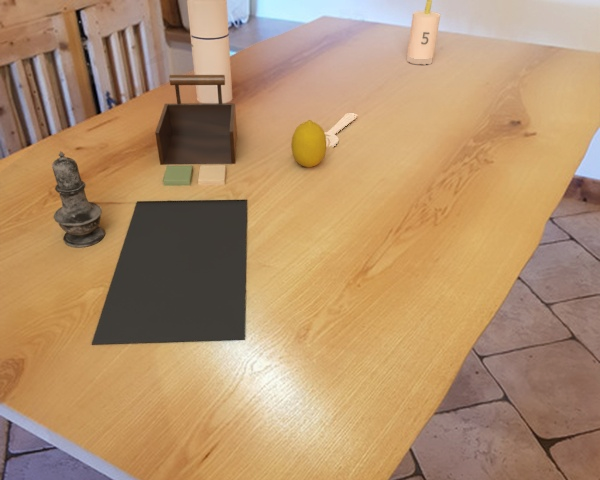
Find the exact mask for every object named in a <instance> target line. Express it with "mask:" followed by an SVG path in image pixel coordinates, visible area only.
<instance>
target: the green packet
mask: <svg viewBox="0 0 600 480" xmlns="http://www.w3.org/2000/svg"><path fill="white" fill-rule="evenodd" d="M193 173H194V166H193V164H188V165H166V168H165V171H164V176H163V179H162V185H163V187H176V186H177V187H180V186H181V187H183V186H191V184H192V178H193Z"/></svg>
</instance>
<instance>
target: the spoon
mask: <svg viewBox="0 0 600 480" xmlns="http://www.w3.org/2000/svg"><path fill="white" fill-rule="evenodd" d="M354 115H355V116H354ZM356 116H358V114H356V113H353V112H348V113H345V114H344V116H342V117H341V118H340V119H339V120H338V121H337V122H336V123H335V124H334V125H333V126H332V127H331V128H330V129H329V130H327V131H324V133H325V136H326V148H330V147H332V148H334V146H335V147H336V146H337V145H338V144H339V136H337V134H339V133H340V132H341V131H343V130H344V129H345V128H346V127H345V126H347V125H348V124H349V123H350V122H351V121H353V120H354V119H355V118H356ZM354 117H355V118H354ZM353 122H354V121H353ZM349 125H350V124H349ZM349 125H348V126H349ZM348 126H347V127H348ZM344 127H345V128H344ZM343 128H344V129H343ZM342 129H343V130H342ZM340 130H341V131H340ZM339 131H340V132H339ZM338 132H339V133H338ZM336 133H337V134H336ZM335 134H336V135H335ZM336 144H337V145H336Z"/></svg>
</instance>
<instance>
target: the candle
mask: <svg viewBox="0 0 600 480" xmlns="http://www.w3.org/2000/svg"><path fill="white" fill-rule="evenodd" d="M432 3H433V0H426V2H425V7H424V10H416V11H413V12H412V17H411V23H410V24H411V26H410V33H409V40H408V47H407V54H406V56H407V55H408V56H409V57H411V58H414V59H429V58H432V57H433V58H434V56H435V50H436V44H437V37H438V32H439V25H440V20H441V14H440V13H439V12H436V11H432V10H431V9H432Z"/></svg>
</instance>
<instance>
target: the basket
mask: <svg viewBox="0 0 600 480" xmlns="http://www.w3.org/2000/svg"><path fill="white" fill-rule="evenodd" d="M168 76H169V77H168V78H169V85H170V86H174V89H175V96H176V103H164V105H163V108H162V111H161V114H160V116H159V119H158V123H157V126H156V129H155V132H154V133H155V141H156V147H157V152H158V153H157V154H158V159H159V164H160V166H188V165H236V158H237V157H236V156H237V141H238V139H237V138H238V129H237V111H236V110H237V109H236V102H227V103H222V92H221V85H225V75H194V74H169V75H168ZM196 85H217V89H218V102H219V103H201V102H198V103H196V102H194V103H193V102H192V103H188V102H187V103H185V102H184V103H182V99H181V91H180V86H196Z"/></svg>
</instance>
